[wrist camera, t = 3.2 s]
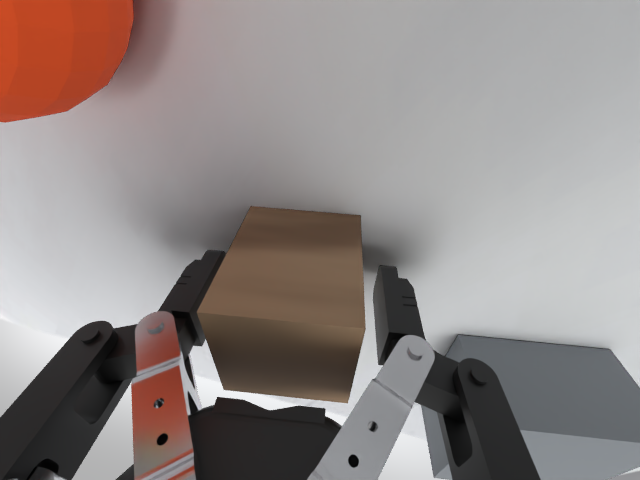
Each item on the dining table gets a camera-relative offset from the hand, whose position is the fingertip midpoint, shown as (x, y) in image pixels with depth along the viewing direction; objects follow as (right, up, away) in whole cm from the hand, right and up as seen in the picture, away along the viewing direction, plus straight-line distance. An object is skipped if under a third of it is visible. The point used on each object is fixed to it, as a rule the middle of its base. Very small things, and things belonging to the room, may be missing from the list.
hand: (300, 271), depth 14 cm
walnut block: (0, +1, +1) cm, 1 cm away
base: (+14, -8, +7) cm, 17 cm away
